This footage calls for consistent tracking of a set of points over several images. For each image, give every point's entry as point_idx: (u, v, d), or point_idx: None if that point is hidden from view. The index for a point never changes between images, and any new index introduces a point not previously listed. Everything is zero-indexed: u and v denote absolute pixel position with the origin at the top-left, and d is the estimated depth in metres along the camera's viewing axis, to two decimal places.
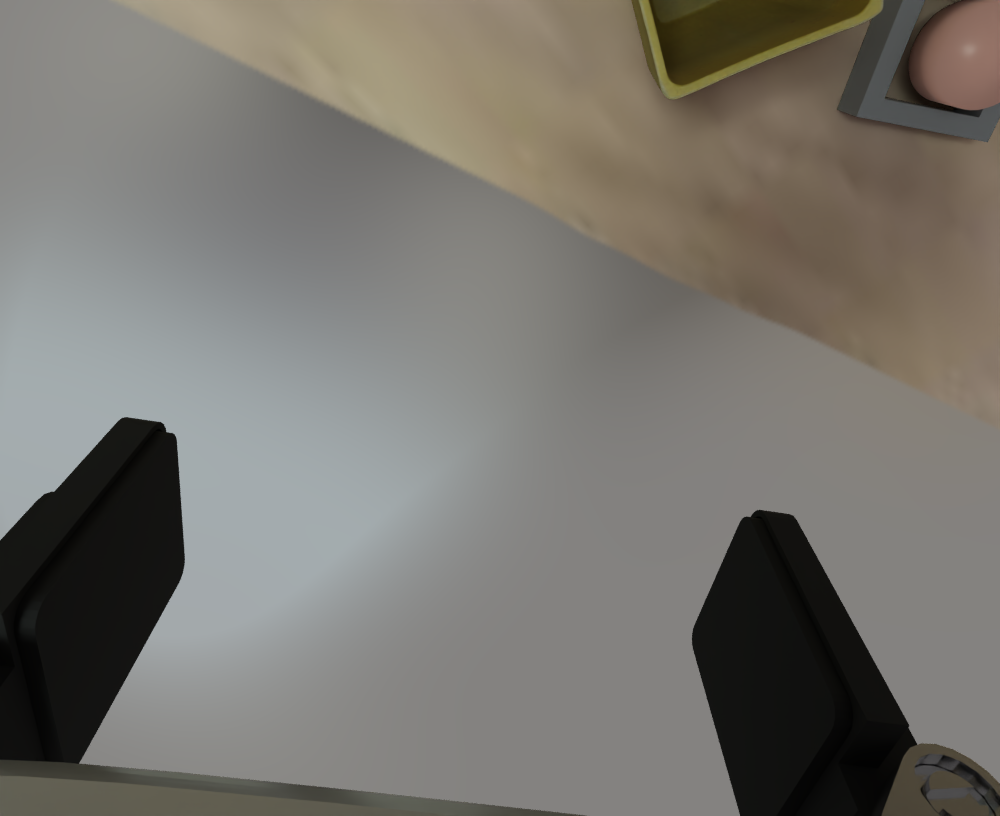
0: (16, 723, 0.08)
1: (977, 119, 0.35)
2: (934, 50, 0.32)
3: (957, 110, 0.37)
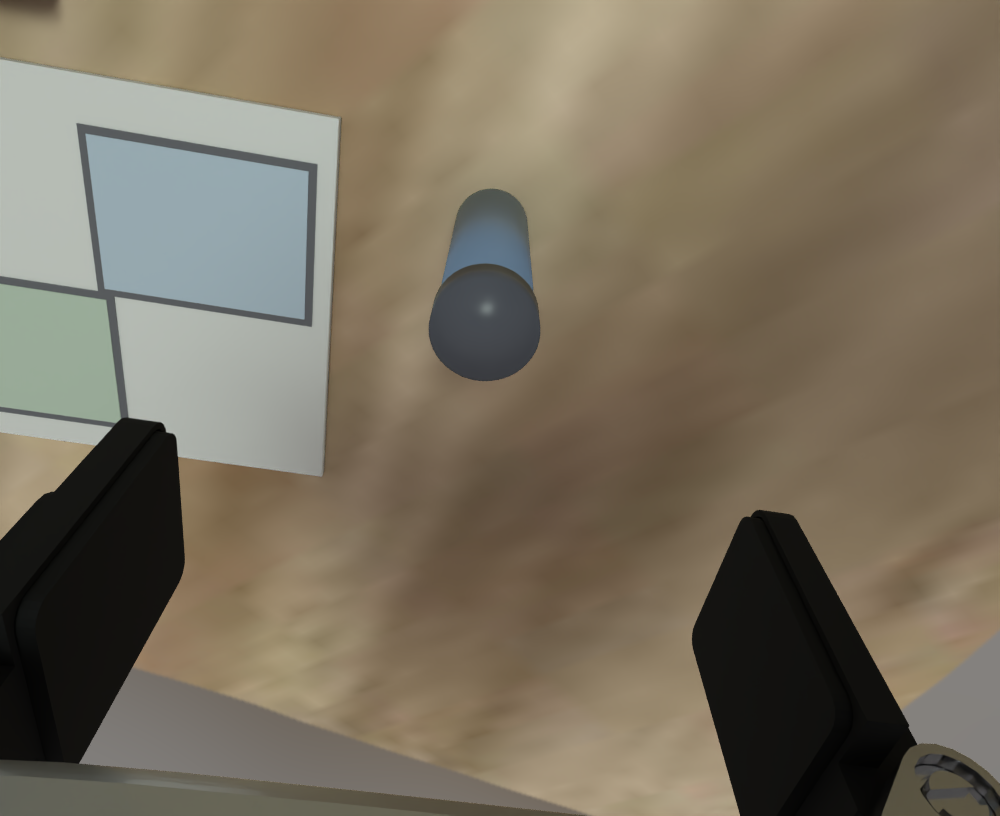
0: (16, 723, 0.08)
1: None
2: None
3: None
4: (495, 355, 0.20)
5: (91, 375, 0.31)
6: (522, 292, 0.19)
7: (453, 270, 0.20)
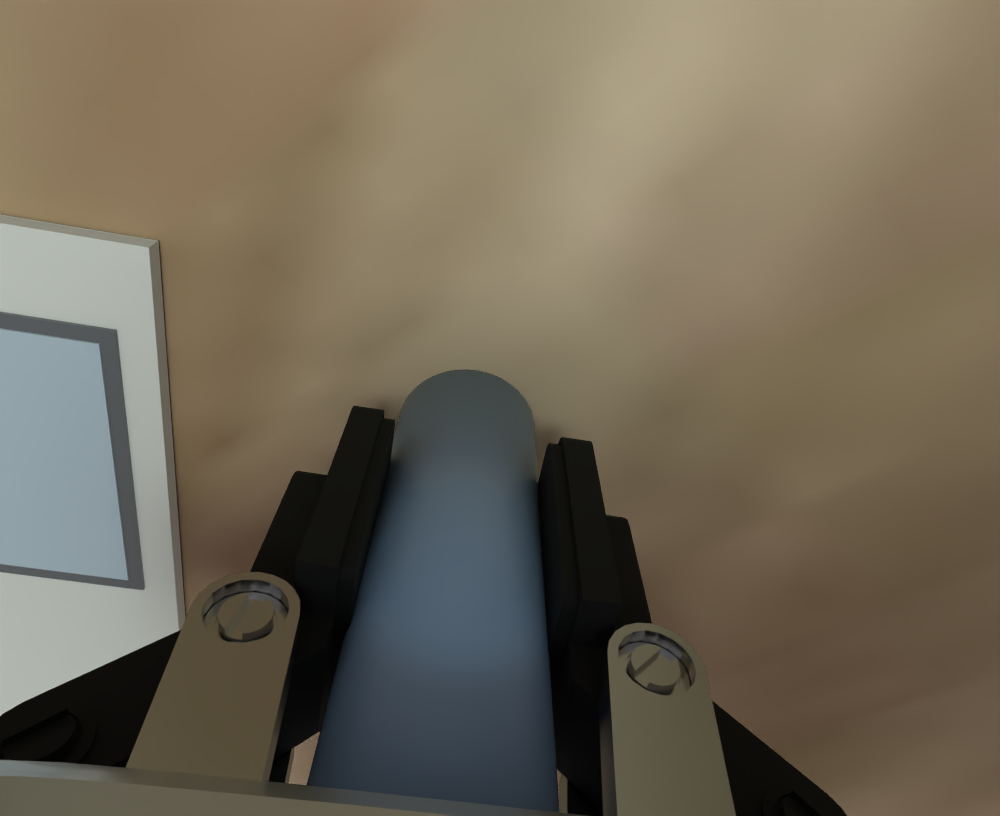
0: (328, 663, 0.09)
1: None
2: None
3: None
4: None
5: None
6: None
7: (334, 770, 0.07)
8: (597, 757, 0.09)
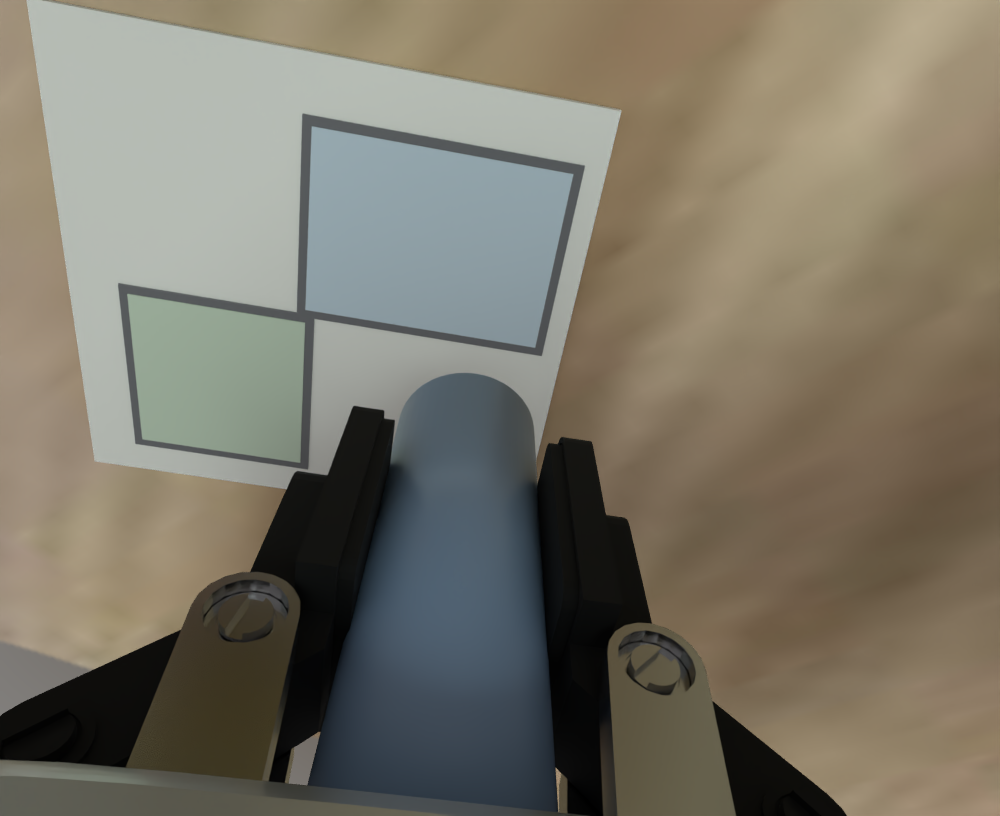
0: (328, 662, 0.09)
1: None
2: None
3: None
4: None
5: (273, 409, 0.27)
6: None
7: (333, 775, 0.07)
8: (598, 757, 0.09)
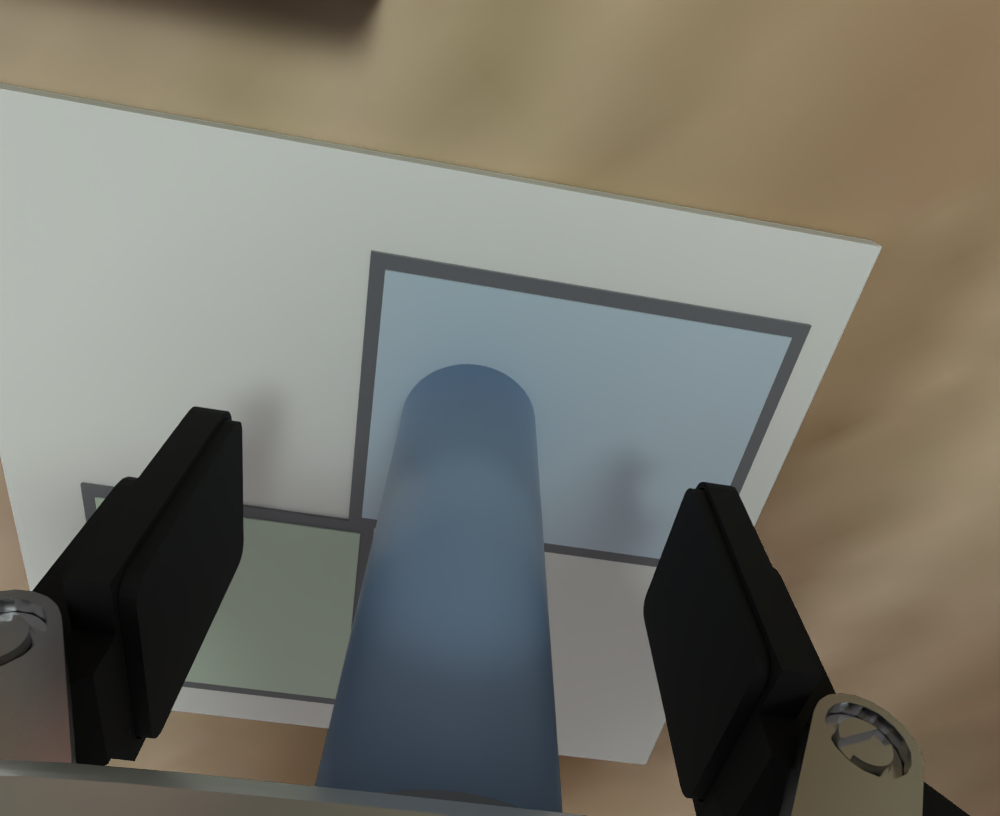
0: (115, 688, 0.08)
1: None
2: None
3: None
4: None
5: (308, 636, 0.18)
6: None
7: (346, 749, 0.08)
8: None
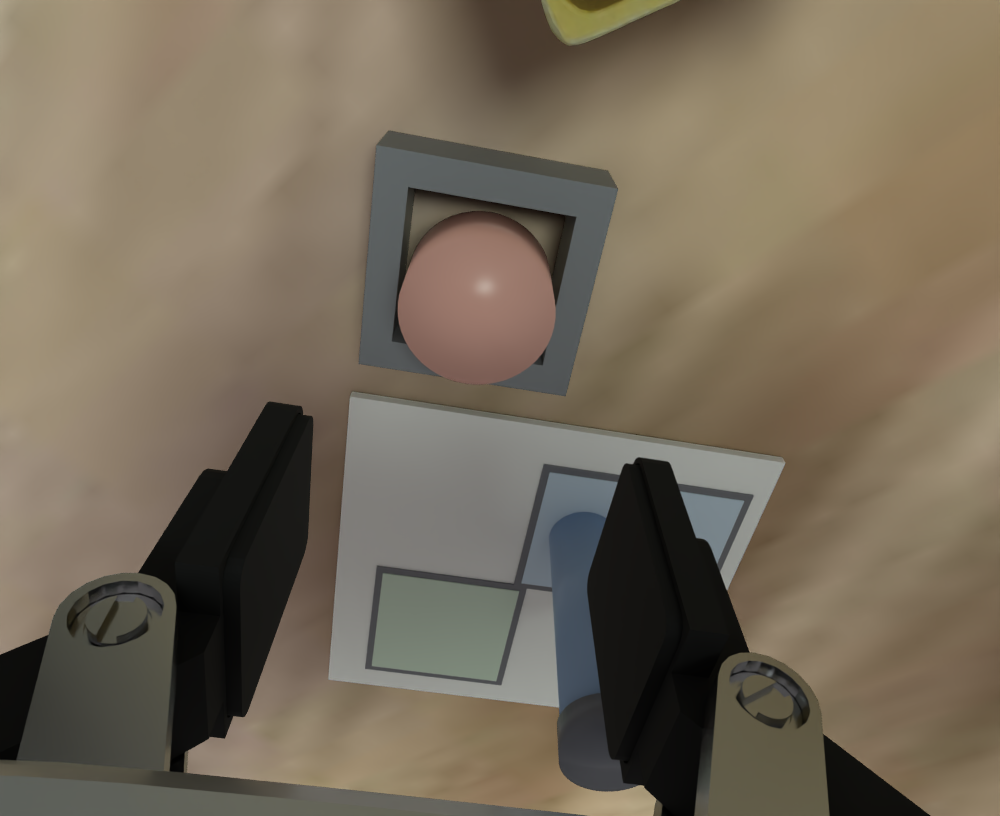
0: (217, 667, 0.09)
1: (389, 339, 0.23)
2: (484, 232, 0.19)
3: None
4: (617, 776, 0.21)
5: (481, 645, 0.33)
6: None
7: (576, 682, 0.22)
8: None
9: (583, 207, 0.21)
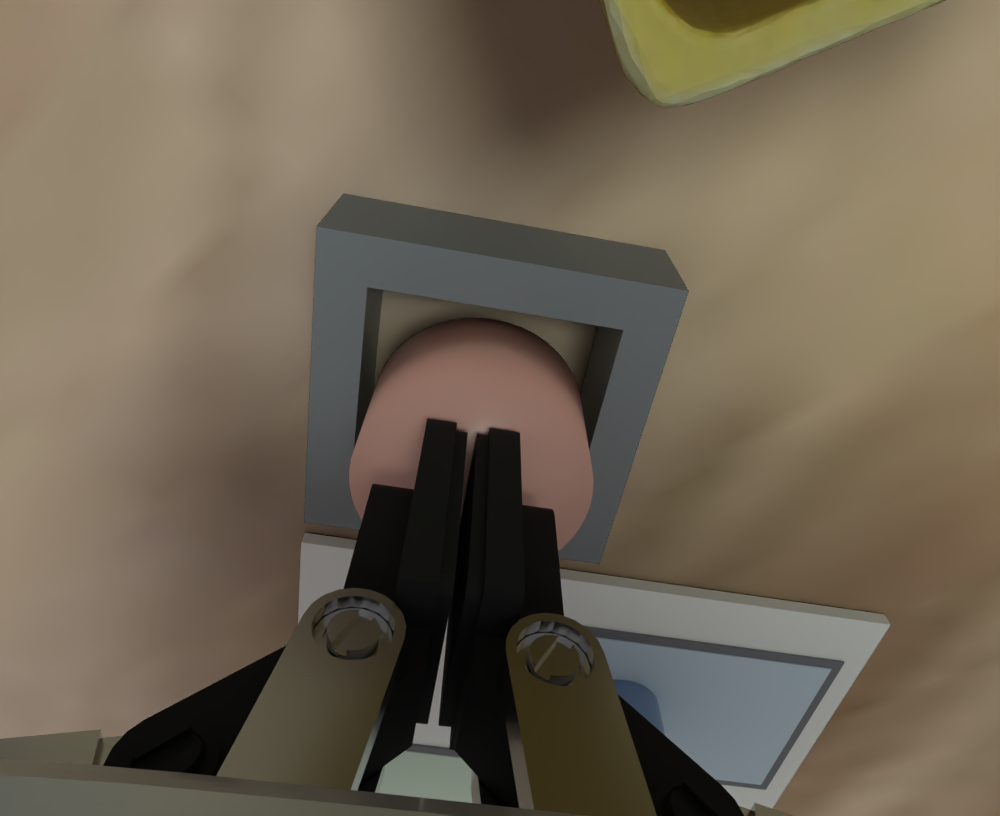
0: None
1: (346, 491, 0.16)
2: (484, 366, 0.12)
3: None
4: None
5: None
6: None
7: None
8: (498, 749, 0.09)
9: (634, 316, 0.14)
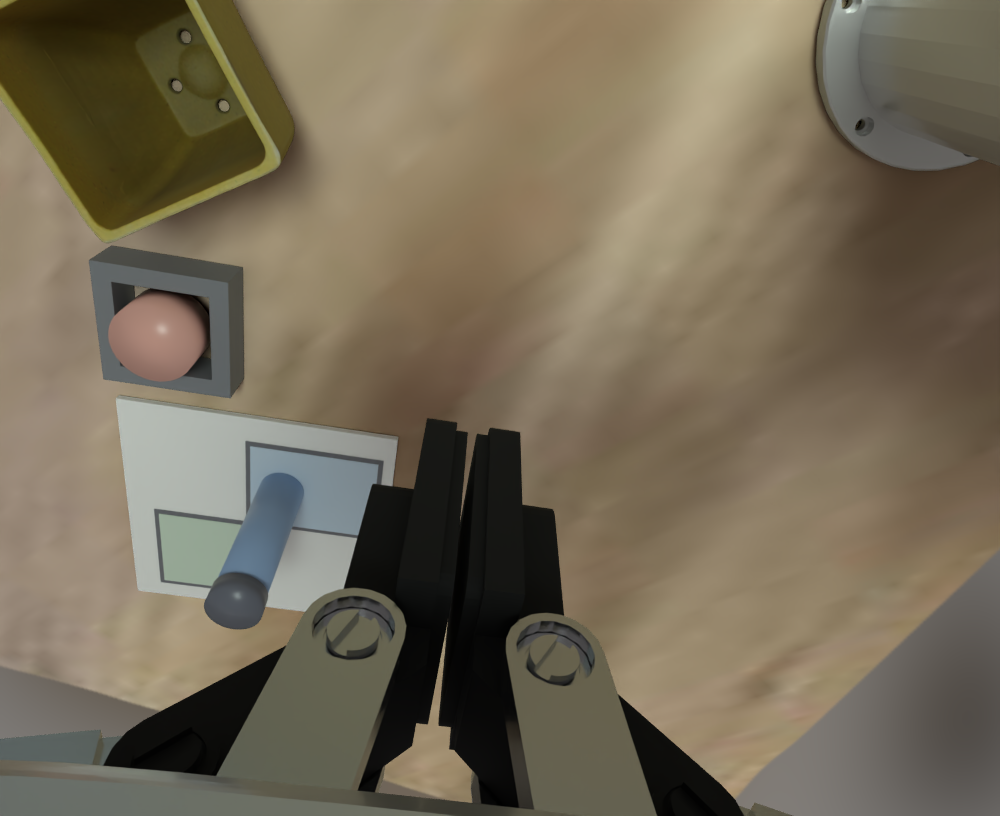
0: None
1: (118, 364, 0.39)
2: (150, 300, 0.37)
3: None
4: (240, 619, 0.38)
5: None
6: (250, 595, 0.37)
7: (224, 568, 0.39)
8: (499, 749, 0.09)
9: (211, 292, 0.37)
